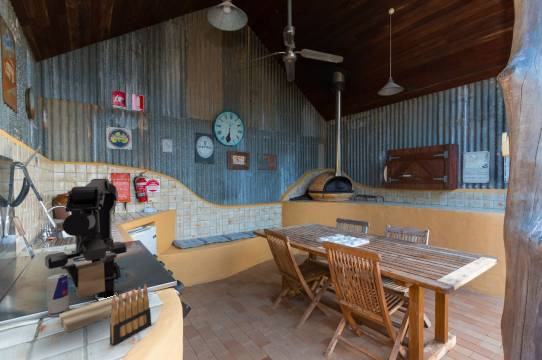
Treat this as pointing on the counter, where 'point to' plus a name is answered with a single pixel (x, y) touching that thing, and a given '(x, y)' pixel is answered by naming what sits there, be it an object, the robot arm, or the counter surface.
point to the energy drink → (57, 294)
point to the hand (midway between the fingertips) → (89, 283)
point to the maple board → (90, 313)
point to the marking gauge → (90, 279)
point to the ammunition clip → (129, 316)
